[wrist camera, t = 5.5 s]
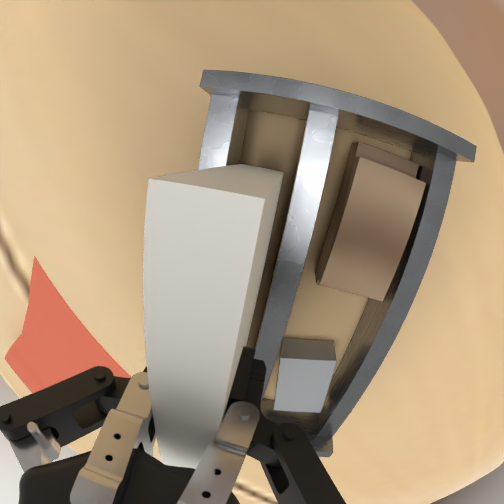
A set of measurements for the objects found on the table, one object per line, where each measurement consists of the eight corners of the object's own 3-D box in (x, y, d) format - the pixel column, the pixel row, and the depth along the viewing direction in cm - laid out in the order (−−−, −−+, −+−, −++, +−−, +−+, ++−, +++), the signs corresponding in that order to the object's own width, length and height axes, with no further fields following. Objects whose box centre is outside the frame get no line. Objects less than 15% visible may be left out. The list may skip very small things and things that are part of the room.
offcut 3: (352, 157, 16) (359, 156, 14) (413, 180, 15) (426, 183, 13) (317, 271, 18) (319, 284, 16) (375, 287, 18) (382, 301, 16)
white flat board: (242, 163, 16) (148, 178, 5) (284, 171, 15) (264, 198, 5) (208, 381, 22) (167, 486, 12) (236, 388, 22) (204, 498, 12)
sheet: (82, 420, 37) (1, 325, 33) (178, 373, 31) (54, 223, 27) (71, 438, 32) (-16, 337, 28) (165, 403, 26) (24, 232, 22)
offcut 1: (282, 335, 23) (280, 357, 20) (332, 338, 23) (336, 360, 20) (276, 388, 26) (273, 410, 23) (319, 390, 25) (320, 412, 22)
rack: (229, 94, 17) (203, 69, 11) (431, 146, 16) (476, 146, 10) (191, 385, 27) (172, 426, 21) (327, 413, 26) (329, 457, 20)
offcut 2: (350, 143, 18) (358, 141, 15) (405, 163, 17) (418, 164, 15) (314, 270, 21) (316, 284, 19) (366, 283, 21) (373, 298, 18)
